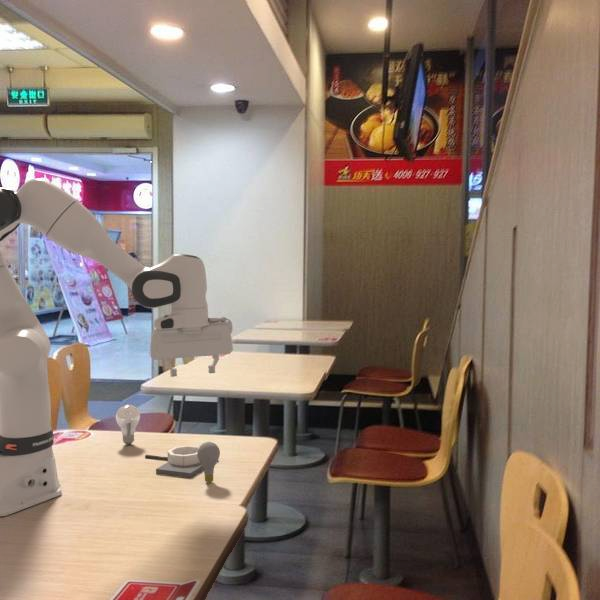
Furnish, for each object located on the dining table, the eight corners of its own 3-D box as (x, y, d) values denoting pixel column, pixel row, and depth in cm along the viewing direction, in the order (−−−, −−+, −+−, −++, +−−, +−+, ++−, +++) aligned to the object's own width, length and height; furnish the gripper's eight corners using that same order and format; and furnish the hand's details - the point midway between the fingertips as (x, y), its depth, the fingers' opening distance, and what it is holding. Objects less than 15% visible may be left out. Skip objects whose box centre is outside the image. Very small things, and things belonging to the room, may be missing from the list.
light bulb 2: (209, 477, 156) (209, 437, 156) (224, 481, 153) (224, 441, 152) (193, 483, 152) (192, 442, 151) (208, 488, 148) (207, 446, 148)
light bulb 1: (116, 449, 181) (115, 408, 180) (116, 442, 187) (115, 403, 187) (140, 447, 182) (140, 406, 182) (140, 440, 189) (139, 401, 188)
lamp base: (190, 477, 156) (190, 463, 156) (123, 469, 162) (122, 455, 162) (218, 459, 170) (217, 446, 170) (154, 452, 177) (154, 440, 176)
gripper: (229, 315, 160) (232, 369, 161) (147, 320, 154) (150, 375, 155) (234, 317, 154) (236, 373, 155) (149, 323, 148) (152, 380, 149)
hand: (192, 374), depth 155 cm, fingers open, 8 cm apart
